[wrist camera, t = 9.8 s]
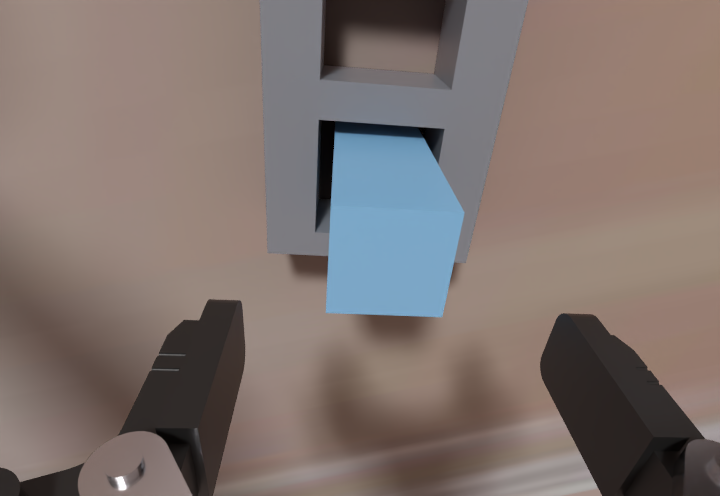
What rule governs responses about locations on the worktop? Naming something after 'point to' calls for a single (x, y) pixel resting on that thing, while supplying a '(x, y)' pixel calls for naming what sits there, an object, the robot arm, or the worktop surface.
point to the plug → (389, 224)
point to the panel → (379, 109)
